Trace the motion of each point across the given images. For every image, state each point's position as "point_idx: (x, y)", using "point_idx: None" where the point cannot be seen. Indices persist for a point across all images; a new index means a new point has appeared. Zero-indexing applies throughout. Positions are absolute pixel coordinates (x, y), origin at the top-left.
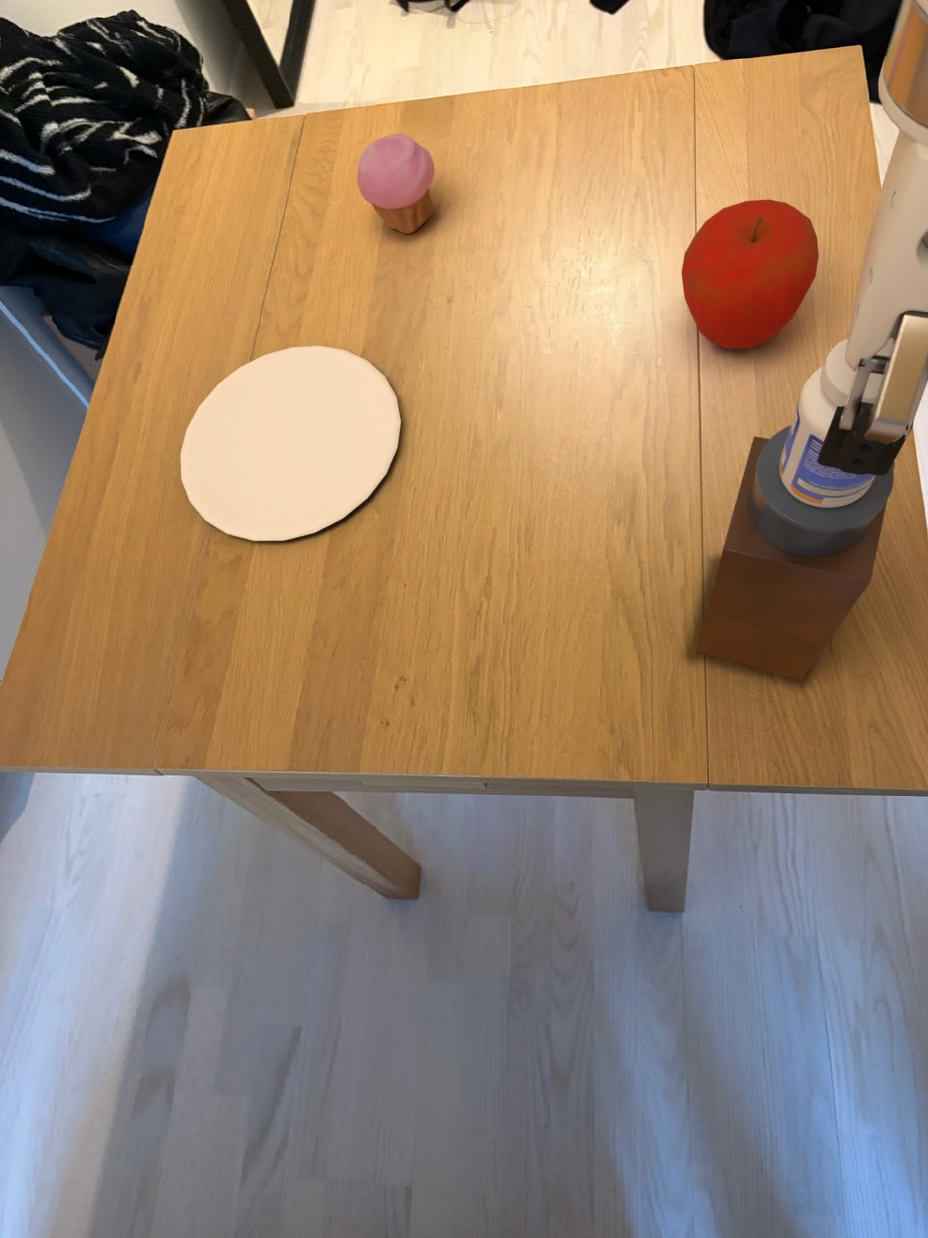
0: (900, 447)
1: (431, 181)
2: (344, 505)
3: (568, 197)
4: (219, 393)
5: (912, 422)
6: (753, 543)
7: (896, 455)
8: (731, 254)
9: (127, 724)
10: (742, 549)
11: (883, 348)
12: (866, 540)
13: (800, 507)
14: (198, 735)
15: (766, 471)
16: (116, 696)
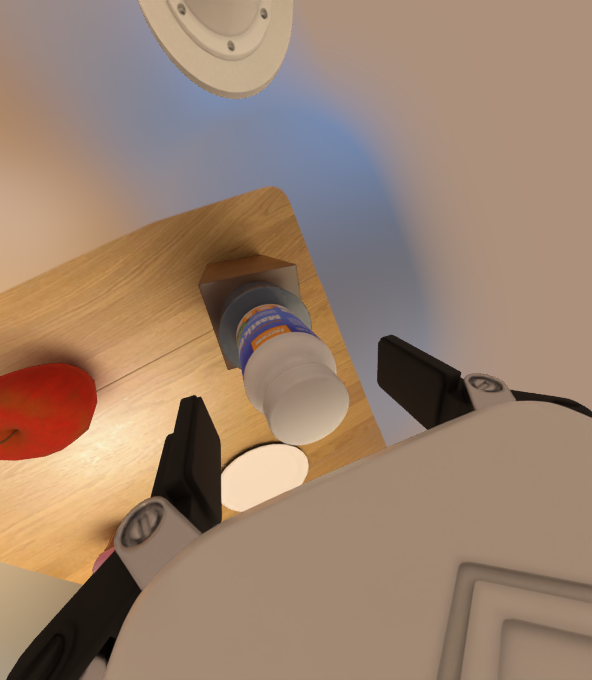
0: (427, 354)
1: (109, 550)
2: (280, 447)
3: (48, 496)
4: None
5: (510, 391)
6: None
7: (415, 347)
8: (47, 436)
9: (371, 438)
10: None
11: (285, 413)
12: (268, 278)
13: None
14: (367, 422)
15: None
16: (365, 446)
